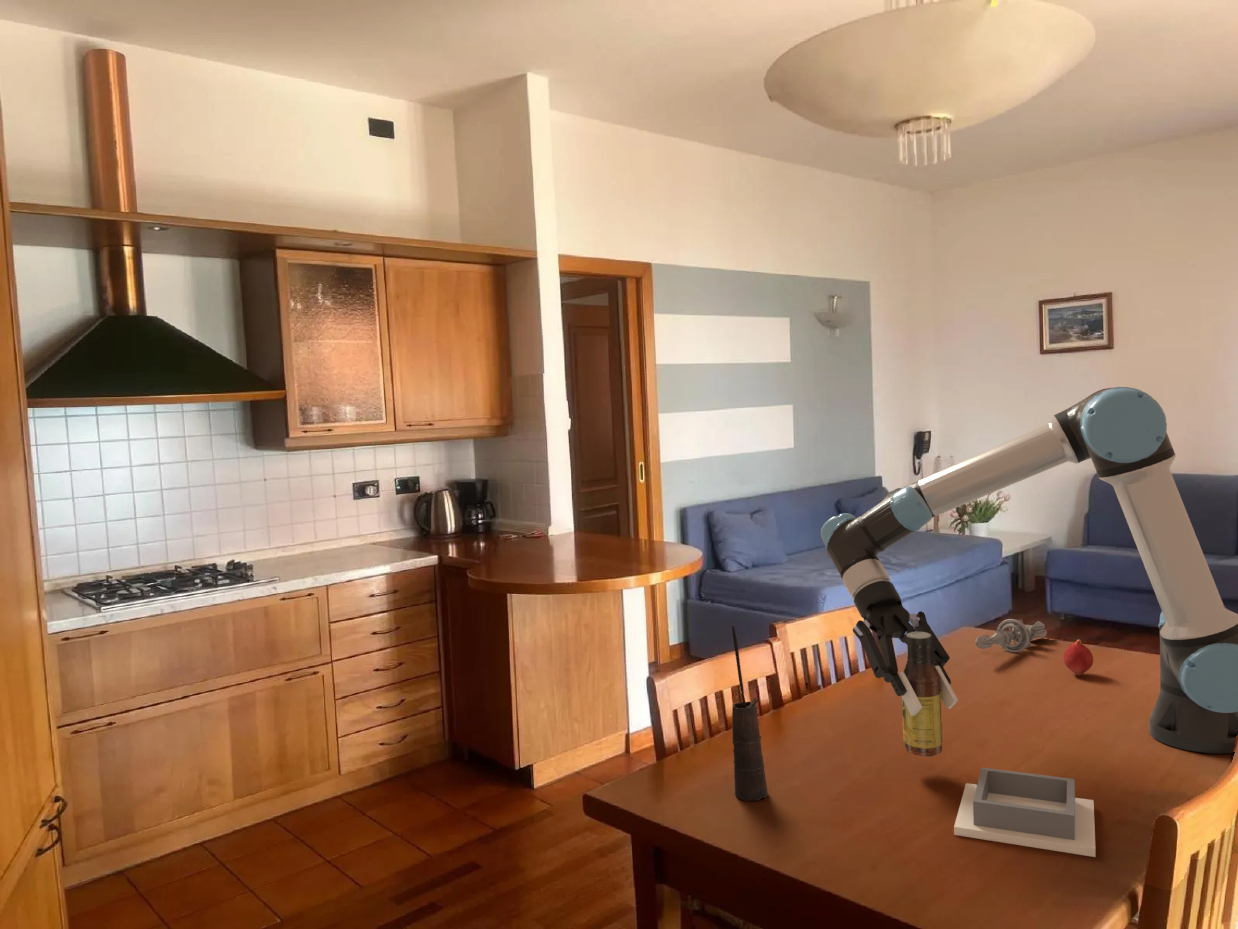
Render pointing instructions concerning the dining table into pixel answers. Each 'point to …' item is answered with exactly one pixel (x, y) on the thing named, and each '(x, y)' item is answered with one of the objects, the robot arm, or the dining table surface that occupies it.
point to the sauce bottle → (922, 698)
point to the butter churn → (747, 745)
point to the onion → (1078, 658)
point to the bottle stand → (1027, 812)
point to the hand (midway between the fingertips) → (934, 708)
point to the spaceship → (1012, 635)
